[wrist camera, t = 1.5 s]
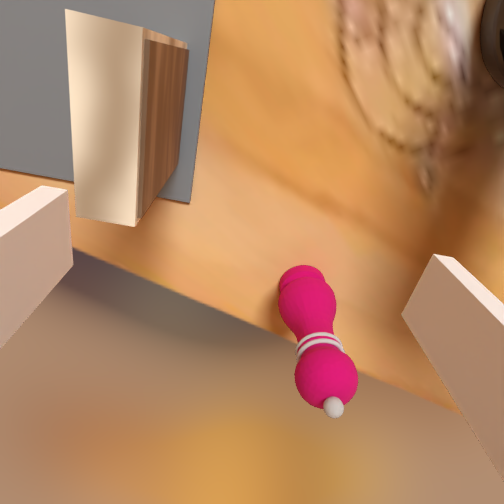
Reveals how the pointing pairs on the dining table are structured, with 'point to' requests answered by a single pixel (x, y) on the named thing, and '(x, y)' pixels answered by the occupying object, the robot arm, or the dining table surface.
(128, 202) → the brown wooden block
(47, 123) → the mat
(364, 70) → the dining table surface
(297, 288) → the pepper mill
